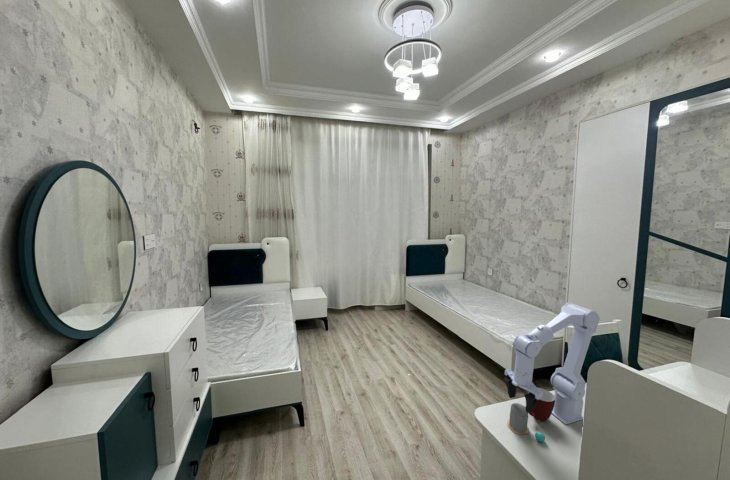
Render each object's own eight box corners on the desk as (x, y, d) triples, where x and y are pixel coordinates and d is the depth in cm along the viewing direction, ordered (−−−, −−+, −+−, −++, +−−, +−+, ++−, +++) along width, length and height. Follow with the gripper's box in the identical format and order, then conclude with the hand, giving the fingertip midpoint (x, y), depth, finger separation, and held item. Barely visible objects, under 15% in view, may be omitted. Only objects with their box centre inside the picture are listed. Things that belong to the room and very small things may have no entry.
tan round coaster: (517, 418, 110) (517, 416, 110) (533, 432, 104) (533, 430, 104) (502, 422, 108) (503, 421, 108) (517, 436, 102) (518, 435, 102)
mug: (541, 432, 104) (544, 407, 102) (519, 417, 110) (522, 394, 109) (556, 420, 109) (559, 396, 108) (534, 407, 116) (537, 384, 115)
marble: (539, 436, 102) (540, 428, 102) (546, 443, 99) (547, 435, 99) (532, 438, 101) (533, 430, 101) (540, 445, 98) (541, 437, 98)
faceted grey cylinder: (517, 418, 109) (519, 401, 108) (530, 429, 104) (532, 412, 103) (505, 421, 108) (507, 405, 107) (517, 433, 102) (519, 415, 101)
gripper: (499, 360, 108) (496, 393, 110) (532, 384, 95) (528, 421, 97) (514, 357, 110) (511, 389, 112) (548, 380, 97) (544, 416, 99)
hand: (520, 404), depth 105 cm, fingers open, 7 cm apart
